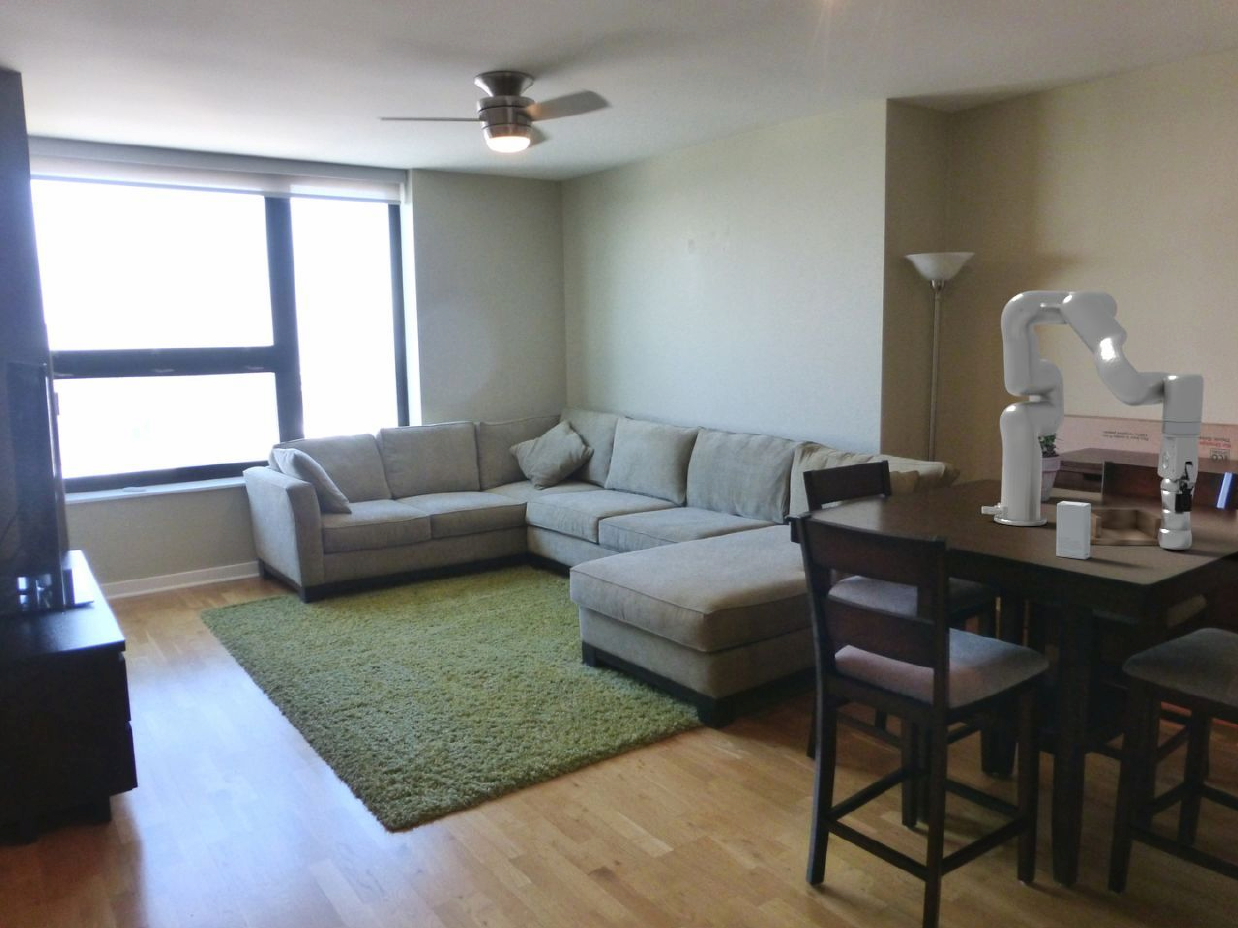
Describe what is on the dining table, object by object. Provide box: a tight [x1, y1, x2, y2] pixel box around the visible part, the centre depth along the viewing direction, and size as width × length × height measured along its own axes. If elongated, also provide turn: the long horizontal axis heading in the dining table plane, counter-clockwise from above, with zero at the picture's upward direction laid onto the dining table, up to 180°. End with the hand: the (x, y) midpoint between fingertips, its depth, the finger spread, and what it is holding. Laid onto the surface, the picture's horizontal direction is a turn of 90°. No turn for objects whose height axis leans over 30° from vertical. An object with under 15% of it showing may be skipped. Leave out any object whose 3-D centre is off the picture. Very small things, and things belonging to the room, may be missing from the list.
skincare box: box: [1055, 500, 1092, 560], centre depth 203 cm, size 6×4×12 cm
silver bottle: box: [1158, 478, 1195, 551], centre depth 207 cm, size 6×7×20 cm
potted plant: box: [1038, 433, 1073, 502], centre depth 273 cm, size 18×20×25 cm
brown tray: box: [1090, 507, 1162, 547], centre depth 221 cm, size 18×16×6 cm
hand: (1176, 507), depth 207 cm, fingers closed on silver bottle, 6 cm apart
